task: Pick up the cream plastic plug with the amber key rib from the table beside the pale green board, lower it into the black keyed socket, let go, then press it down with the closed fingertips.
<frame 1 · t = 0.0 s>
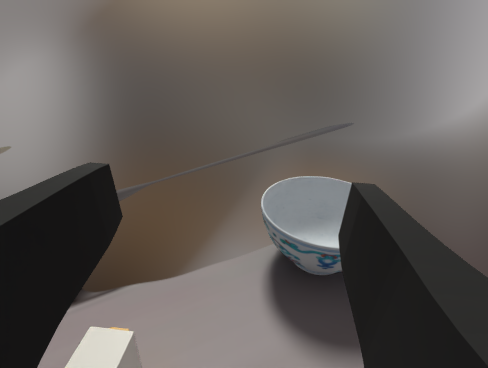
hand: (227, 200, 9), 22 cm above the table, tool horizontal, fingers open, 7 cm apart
chinaware: (316, 257, 39), on the table
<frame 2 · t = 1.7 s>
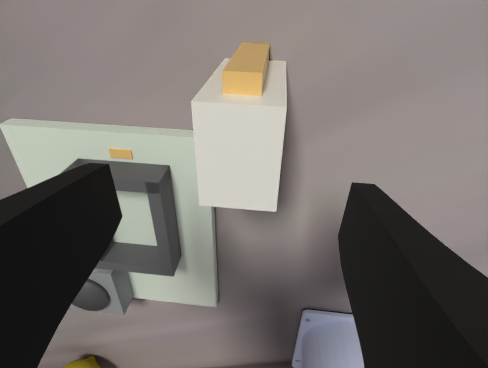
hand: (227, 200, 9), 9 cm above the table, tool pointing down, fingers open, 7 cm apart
lemon: (93, 354, 36), on the table
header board: (131, 222, 23), on the table
plug: (253, 101, 17), on the table
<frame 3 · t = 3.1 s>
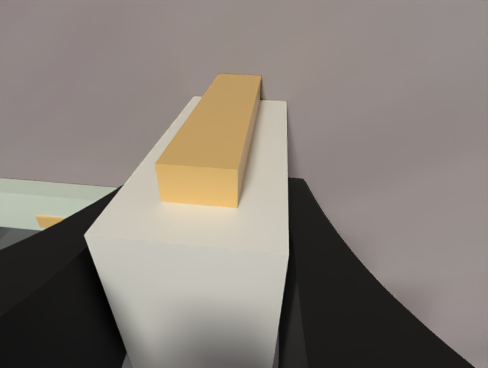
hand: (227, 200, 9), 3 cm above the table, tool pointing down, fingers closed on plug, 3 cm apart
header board: (85, 294, 18), on the table
plug: (238, 155, 12), on the table, touching gripper
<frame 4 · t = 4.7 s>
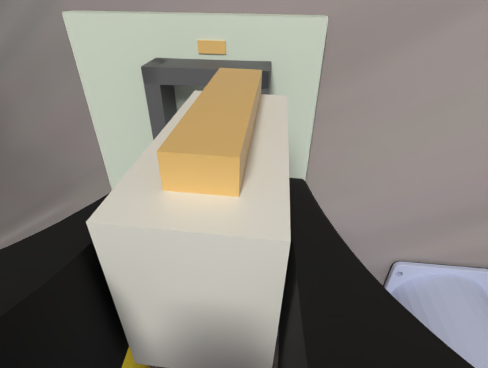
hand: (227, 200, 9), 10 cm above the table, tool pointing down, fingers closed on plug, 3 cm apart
lemon: (136, 328, 33), on the table
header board: (204, 153, 20), on the table
plug: (239, 150, 12), point 7 cm above the table, touching gripper
when the fingers open (4 cm above the table, at t = 6.4 s): plug stays where it is, resting on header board.
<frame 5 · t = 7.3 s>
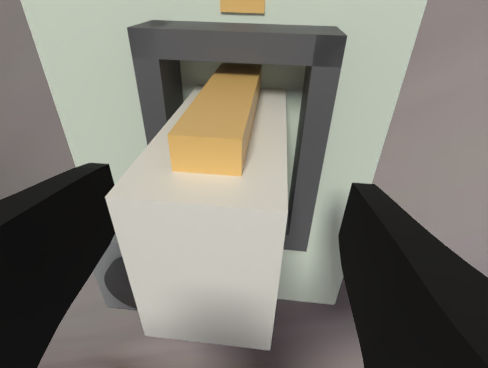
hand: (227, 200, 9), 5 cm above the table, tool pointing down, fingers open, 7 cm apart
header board: (221, 165, 14), on the table
plug: (240, 142, 12), point 1 cm above the table, touching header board
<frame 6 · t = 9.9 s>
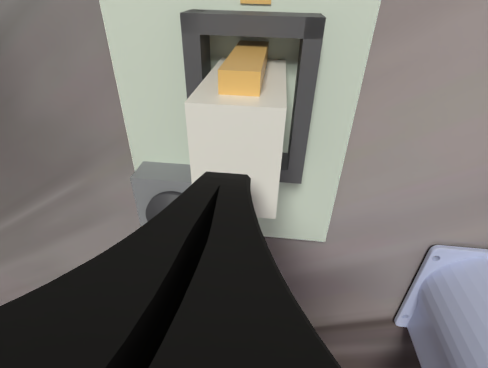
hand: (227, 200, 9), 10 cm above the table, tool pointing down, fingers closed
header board: (236, 123, 18), on the table
plug: (252, 101, 16), point 1 cm above the table, touching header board
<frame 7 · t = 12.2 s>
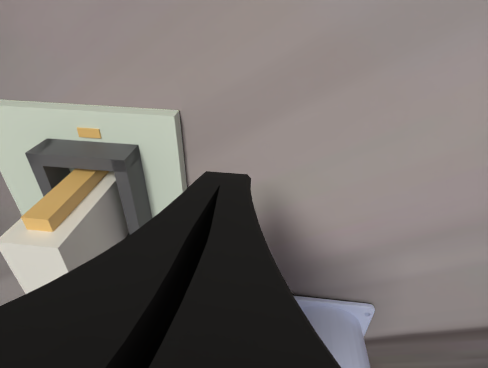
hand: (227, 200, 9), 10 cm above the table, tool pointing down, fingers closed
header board: (106, 206, 23), on the table
plug: (107, 196, 21), point 1 cm above the table, touching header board
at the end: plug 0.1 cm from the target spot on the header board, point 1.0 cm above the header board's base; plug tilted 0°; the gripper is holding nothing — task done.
